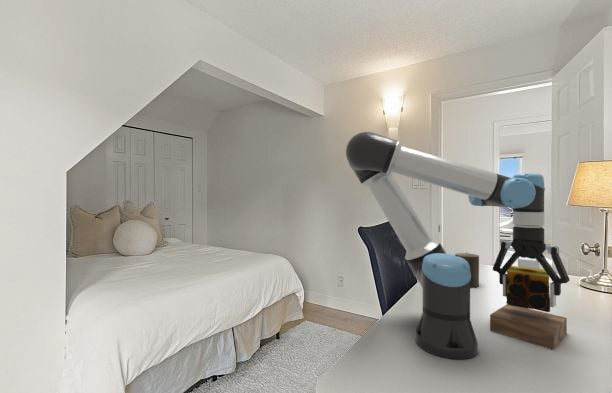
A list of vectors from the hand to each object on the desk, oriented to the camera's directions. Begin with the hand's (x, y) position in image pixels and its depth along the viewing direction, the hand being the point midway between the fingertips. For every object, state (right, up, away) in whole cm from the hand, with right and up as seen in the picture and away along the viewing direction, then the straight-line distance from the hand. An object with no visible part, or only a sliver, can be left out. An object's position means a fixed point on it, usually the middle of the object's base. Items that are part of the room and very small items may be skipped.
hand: (528, 300), depth 90 cm
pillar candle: (+7, -9, +48) cm, 49 cm away
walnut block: (0, -10, 0) cm, 10 cm away
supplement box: (+33, -10, +45) cm, 57 cm away
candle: (0, -1, 0) cm, 1 cm away
